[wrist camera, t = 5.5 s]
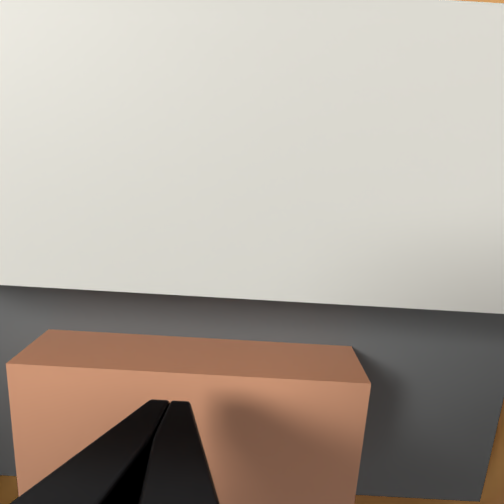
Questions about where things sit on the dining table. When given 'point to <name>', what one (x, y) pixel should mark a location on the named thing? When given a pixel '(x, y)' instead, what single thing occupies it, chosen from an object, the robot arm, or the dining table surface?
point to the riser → (255, 149)
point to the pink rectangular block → (199, 408)
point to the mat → (325, 333)
